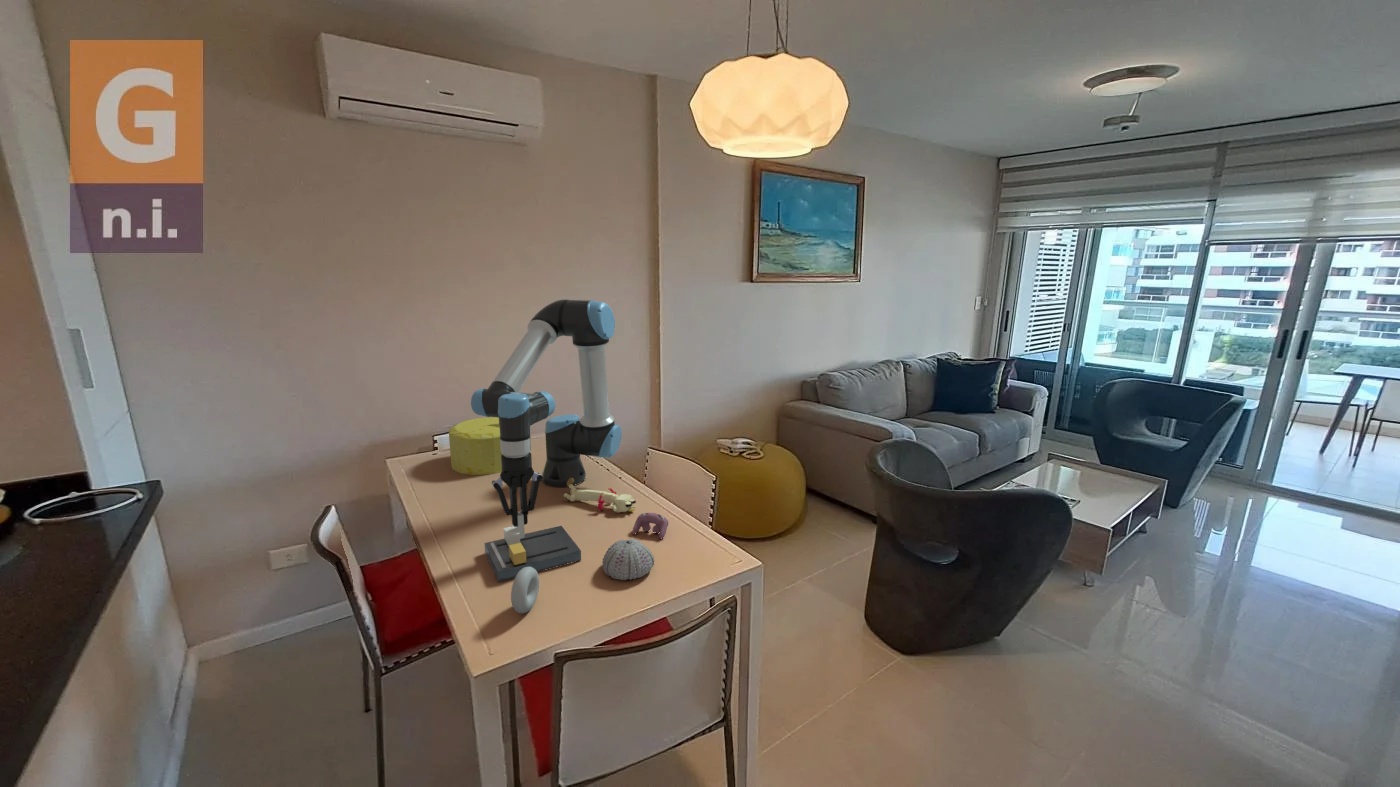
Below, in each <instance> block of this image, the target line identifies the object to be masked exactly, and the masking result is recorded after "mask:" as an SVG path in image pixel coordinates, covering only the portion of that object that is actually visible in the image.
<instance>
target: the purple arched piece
mask: <svg viewBox="0 0 1400 787" xmlns="http://www.w3.org/2000/svg"><path fill="white" fill-rule="evenodd" d="M651 524H653V525H654V526H651ZM669 524H670V522H669V520H668V519H667V518H666V517H665V516H663V515H662V514H660V513H656V512H655V513H654V512H644V513H641V514H639V515H638V516H637V518H636V520H635V522H634V525H633V528H632V535H633V534H635V533H637V532H638V533H639V531H640V530H641V528H642V531H643V532H644V531H649V530H650V529H652V533H653V532H656V533H659V532H660V533H659V534H658V535H659V536H658V537H659V539H660V538H663V537H664V538H665V536H666V534H667V530H668V526H669ZM650 531H651V530H650ZM650 531H649V532H650ZM638 533H637V534H638ZM635 535H636V534H635ZM664 538H663V539H664Z"/></svg>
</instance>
